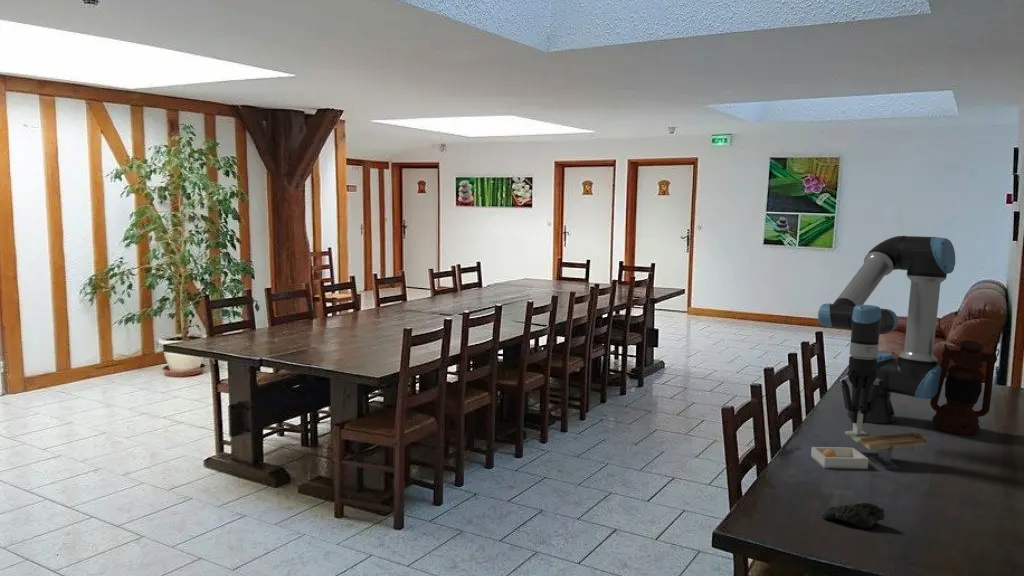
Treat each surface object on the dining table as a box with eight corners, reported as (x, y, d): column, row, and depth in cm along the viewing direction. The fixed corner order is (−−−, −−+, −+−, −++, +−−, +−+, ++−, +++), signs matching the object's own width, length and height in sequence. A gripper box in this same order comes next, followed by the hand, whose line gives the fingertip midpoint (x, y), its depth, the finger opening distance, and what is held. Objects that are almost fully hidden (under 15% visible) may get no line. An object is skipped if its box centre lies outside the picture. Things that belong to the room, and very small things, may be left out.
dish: (811, 456, 215) (811, 446, 215) (852, 457, 215) (853, 447, 214) (824, 468, 206) (824, 458, 205) (867, 468, 205) (868, 458, 205)
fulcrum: (869, 457, 215) (871, 441, 214) (883, 458, 214) (884, 441, 214) (884, 468, 206) (886, 452, 205) (899, 469, 206) (900, 452, 205)
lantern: (930, 431, 240) (945, 349, 230) (923, 411, 252) (937, 332, 242) (990, 439, 234) (1009, 355, 224) (980, 418, 246) (997, 338, 236)
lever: (844, 433, 221) (844, 426, 221) (898, 429, 221) (898, 421, 221) (869, 451, 206) (869, 443, 205) (927, 446, 205) (927, 438, 205)
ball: (830, 460, 212) (819, 457, 212) (834, 448, 212) (822, 445, 211) (835, 464, 208) (824, 461, 208) (839, 453, 208) (827, 450, 208)
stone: (821, 513, 177) (822, 492, 176) (882, 521, 171) (883, 500, 171) (822, 524, 170) (822, 502, 170) (884, 533, 165) (886, 511, 165)
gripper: (847, 358, 211) (840, 436, 214) (891, 360, 211) (884, 437, 214) (835, 353, 219) (830, 429, 221) (878, 354, 219) (872, 430, 221)
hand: (857, 433), depth 218 cm, fingers closed
